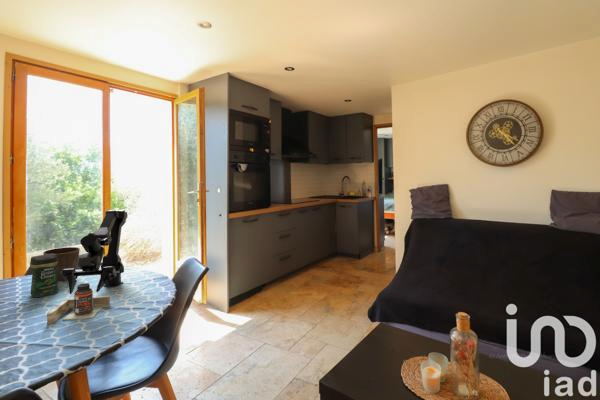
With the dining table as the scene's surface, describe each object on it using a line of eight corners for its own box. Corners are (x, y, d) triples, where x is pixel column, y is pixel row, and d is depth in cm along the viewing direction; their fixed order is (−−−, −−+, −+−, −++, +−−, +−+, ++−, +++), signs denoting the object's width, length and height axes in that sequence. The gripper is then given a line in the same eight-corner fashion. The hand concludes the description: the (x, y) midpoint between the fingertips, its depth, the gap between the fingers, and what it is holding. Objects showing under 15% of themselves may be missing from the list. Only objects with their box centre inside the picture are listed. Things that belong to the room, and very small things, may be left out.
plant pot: (85, 278, 156) (84, 249, 155) (50, 287, 143) (49, 255, 142) (73, 273, 164) (73, 245, 163) (39, 281, 151) (38, 251, 150)
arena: (66, 308, 120) (66, 299, 120) (110, 304, 125) (109, 295, 124) (47, 324, 107) (46, 313, 107) (96, 319, 111) (96, 309, 111)
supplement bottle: (77, 317, 112) (76, 288, 111) (72, 312, 116) (71, 285, 115) (95, 311, 117) (94, 284, 116) (89, 307, 120) (89, 281, 120)
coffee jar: (34, 299, 129) (32, 258, 127) (28, 295, 133) (26, 255, 132) (61, 292, 137) (59, 254, 135) (55, 289, 141) (53, 251, 140)
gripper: (61, 249, 117) (47, 285, 108) (113, 247, 122) (104, 282, 113) (71, 263, 126) (59, 298, 116) (120, 260, 131) (112, 293, 121)
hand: (83, 292), depth 116 cm, fingers open, 9 cm apart
